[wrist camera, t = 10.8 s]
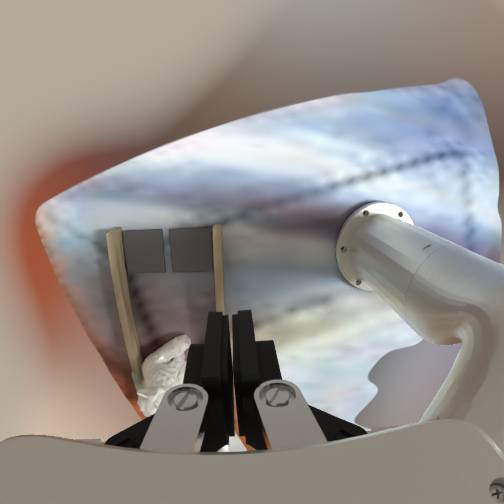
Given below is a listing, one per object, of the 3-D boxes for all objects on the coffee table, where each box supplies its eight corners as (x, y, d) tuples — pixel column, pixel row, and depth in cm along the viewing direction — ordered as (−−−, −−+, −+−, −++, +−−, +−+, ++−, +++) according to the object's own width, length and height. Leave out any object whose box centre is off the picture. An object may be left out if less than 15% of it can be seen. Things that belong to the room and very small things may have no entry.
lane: (221, 223, 37) (221, 231, 34) (229, 401, 46) (230, 418, 42) (114, 227, 36) (102, 235, 33) (147, 399, 45) (143, 416, 41)
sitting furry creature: (206, 380, 45) (204, 438, 33) (156, 386, 44) (143, 442, 33) (188, 331, 42) (178, 388, 30) (134, 340, 42) (111, 394, 30)
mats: (211, 227, 37) (211, 228, 37) (212, 270, 39) (212, 271, 39) (123, 230, 37) (122, 231, 36) (128, 272, 38) (127, 272, 38)
